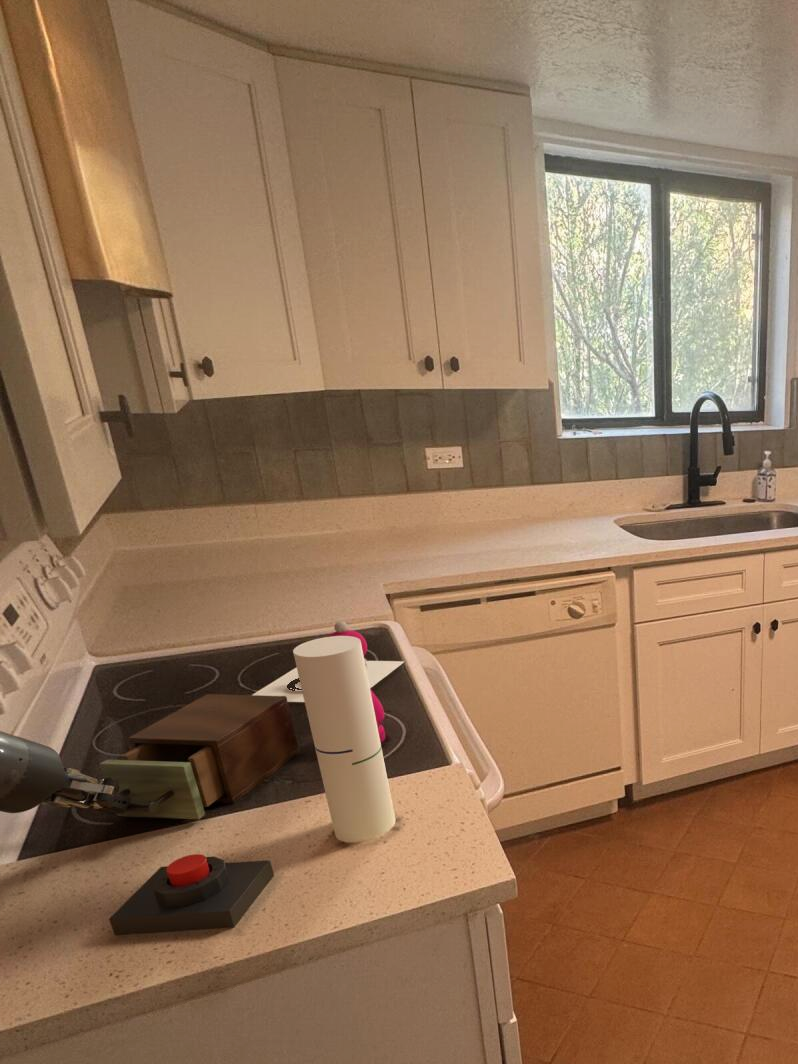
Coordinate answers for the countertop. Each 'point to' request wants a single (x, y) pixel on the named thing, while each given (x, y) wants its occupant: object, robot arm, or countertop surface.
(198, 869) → the button
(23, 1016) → the countertop surface
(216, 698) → the cabinet
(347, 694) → the cylindrical container
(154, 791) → the drawer
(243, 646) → the countertop surface
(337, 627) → the pepper mill
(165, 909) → the control block
